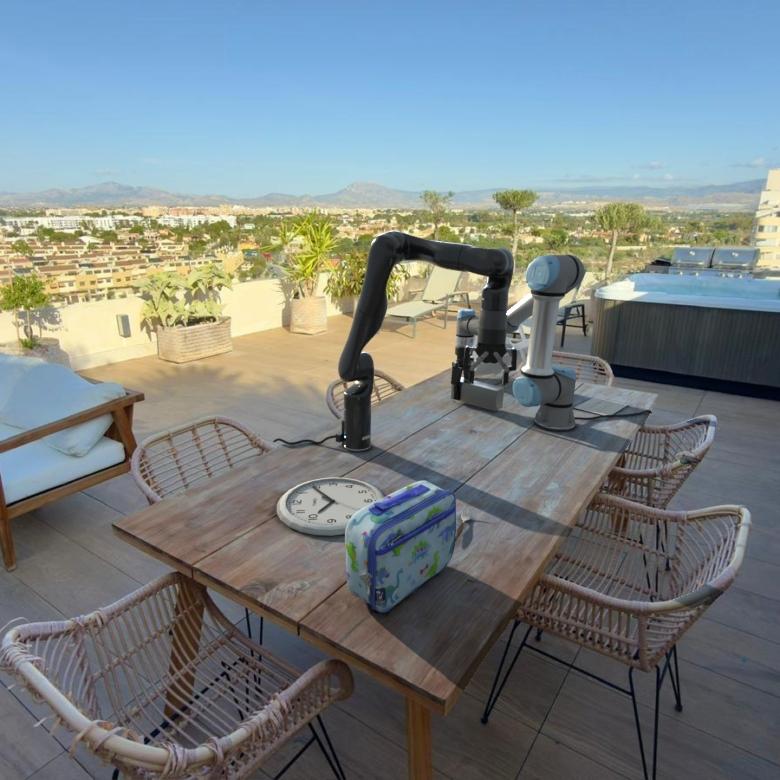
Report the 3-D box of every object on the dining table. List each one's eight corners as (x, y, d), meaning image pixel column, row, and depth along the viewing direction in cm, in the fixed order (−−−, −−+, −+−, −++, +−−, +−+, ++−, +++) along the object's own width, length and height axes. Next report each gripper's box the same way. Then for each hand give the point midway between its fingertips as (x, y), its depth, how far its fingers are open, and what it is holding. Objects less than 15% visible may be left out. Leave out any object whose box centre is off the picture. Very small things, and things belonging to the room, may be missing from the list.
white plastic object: (482, 418, 266) (461, 395, 241) (463, 346, 288) (443, 318, 264) (553, 394, 254) (538, 368, 229) (528, 321, 276) (512, 289, 251)
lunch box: (374, 626, 100) (375, 530, 93) (338, 598, 107) (337, 508, 101) (459, 568, 117) (465, 484, 111) (424, 547, 124) (427, 467, 118)
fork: (449, 542, 127) (449, 535, 126) (463, 510, 141) (464, 504, 140) (459, 544, 126) (460, 537, 125) (473, 512, 140) (473, 506, 139)
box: (450, 398, 229) (451, 379, 226) (458, 395, 233) (459, 376, 230) (495, 411, 215) (496, 390, 212) (502, 407, 219) (504, 387, 216)
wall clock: (392, 527, 129) (268, 531, 127) (391, 533, 130) (269, 537, 127) (383, 473, 158) (282, 475, 155) (383, 478, 158) (282, 480, 156)
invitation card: (608, 416, 214) (573, 407, 224) (608, 416, 214) (573, 408, 224) (628, 404, 229) (594, 396, 238) (628, 405, 229) (594, 397, 238)
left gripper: (465, 327, 137) (462, 386, 141) (521, 329, 135) (515, 389, 140) (465, 322, 144) (461, 379, 149) (518, 324, 142) (512, 381, 147)
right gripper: (458, 351, 212) (455, 404, 219) (483, 344, 226) (479, 394, 233) (443, 347, 217) (441, 400, 224) (469, 341, 230) (465, 391, 238)
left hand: (488, 384), depth 144 cm, fingers open, 8 cm apart
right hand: (460, 397), depth 228 cm, fingers closed on box, 6 cm apart
